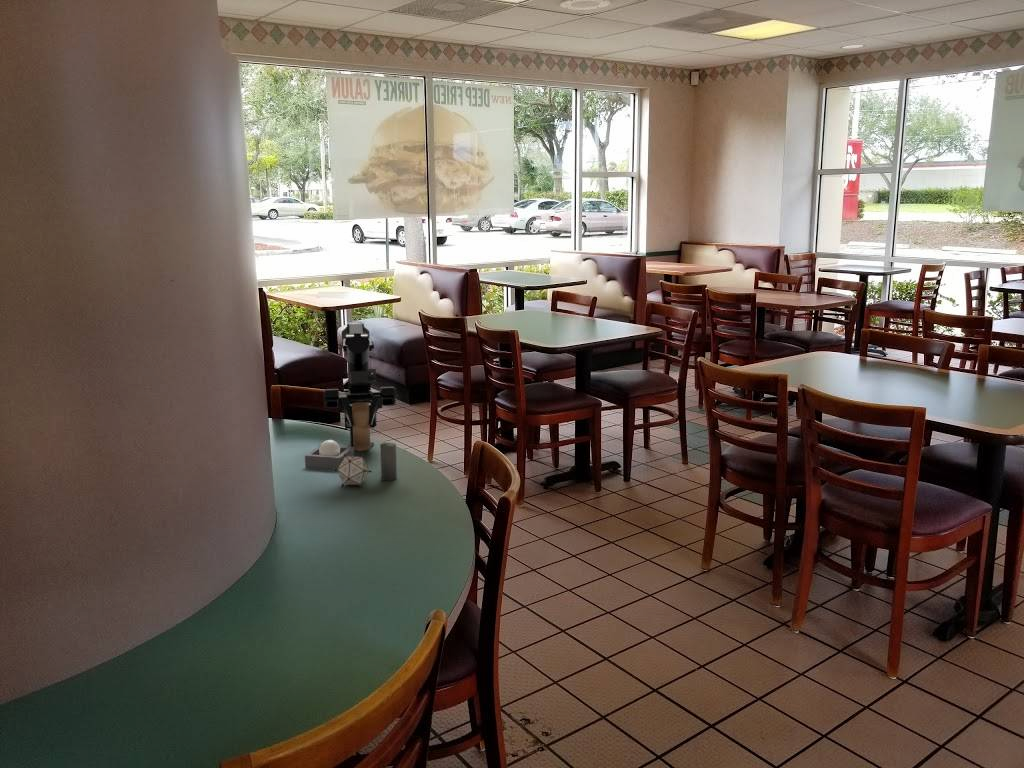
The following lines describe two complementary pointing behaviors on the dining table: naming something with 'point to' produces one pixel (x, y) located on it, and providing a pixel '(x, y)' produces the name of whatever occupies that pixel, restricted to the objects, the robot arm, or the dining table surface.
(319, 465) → the box
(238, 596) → the dining table surface
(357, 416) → the walnut pawn
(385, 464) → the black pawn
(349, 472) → the grey faceted polyhedron
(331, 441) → the dome
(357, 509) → the dining table surface
